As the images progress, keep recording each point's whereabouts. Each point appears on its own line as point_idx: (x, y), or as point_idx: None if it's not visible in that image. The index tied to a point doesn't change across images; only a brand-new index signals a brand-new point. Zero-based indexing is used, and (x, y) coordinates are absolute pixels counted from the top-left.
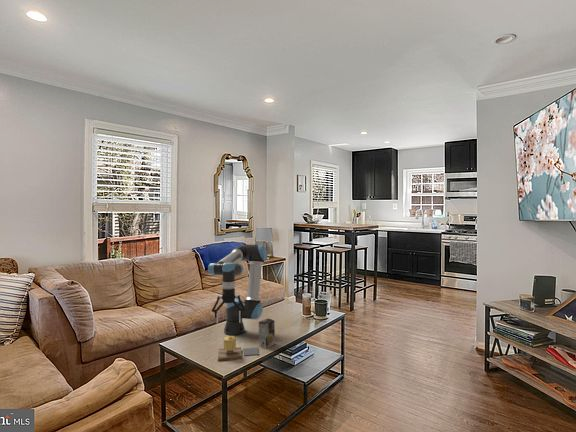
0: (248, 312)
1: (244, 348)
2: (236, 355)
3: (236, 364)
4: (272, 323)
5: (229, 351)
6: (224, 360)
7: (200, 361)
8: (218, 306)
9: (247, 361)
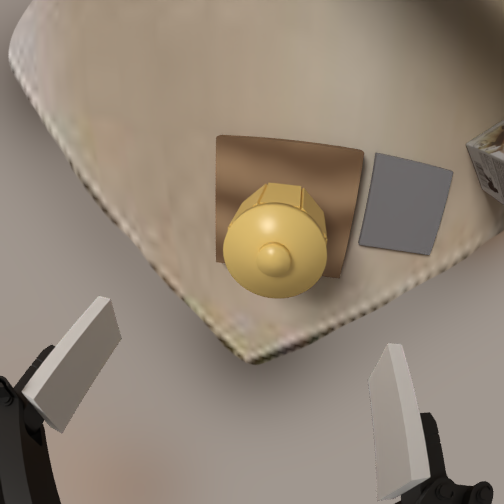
0: None
1: (382, 156)
2: None
3: (303, 308)
4: None
5: None
6: None
7: (142, 234)
8: (6, 474)
9: (357, 298)
